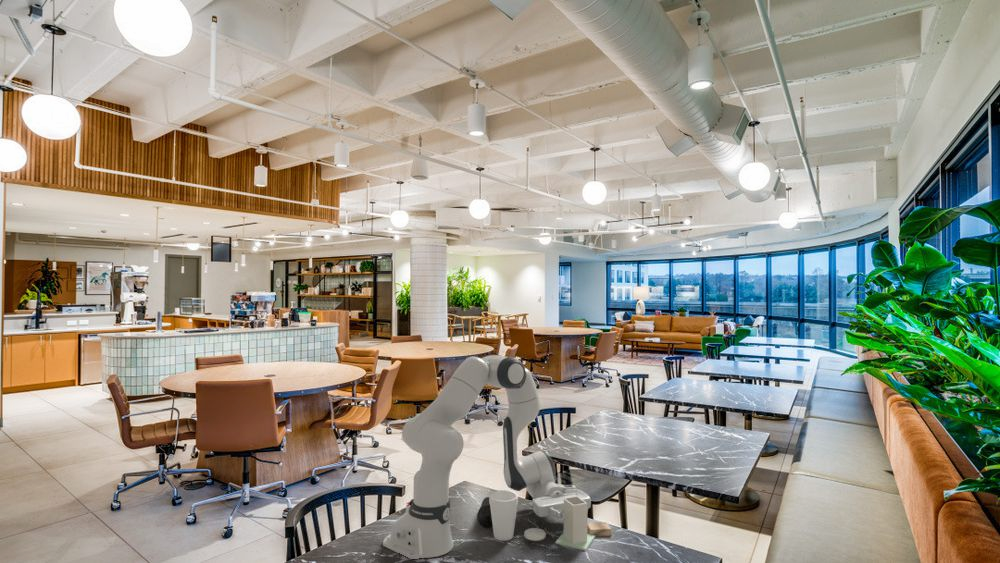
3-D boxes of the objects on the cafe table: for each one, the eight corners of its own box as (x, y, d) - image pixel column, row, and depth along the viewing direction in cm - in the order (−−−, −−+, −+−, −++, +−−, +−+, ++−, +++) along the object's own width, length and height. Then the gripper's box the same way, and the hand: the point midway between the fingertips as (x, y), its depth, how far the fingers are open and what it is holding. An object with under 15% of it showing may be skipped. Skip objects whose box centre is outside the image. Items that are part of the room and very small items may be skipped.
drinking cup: (490, 488, 184) (489, 506, 164) (503, 505, 183) (504, 525, 163) (473, 502, 183) (471, 522, 163) (487, 519, 183) (486, 540, 163)
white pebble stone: (520, 538, 162) (520, 535, 162) (529, 530, 169) (529, 526, 169) (540, 543, 159) (540, 539, 159) (548, 534, 165) (548, 530, 166)
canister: (563, 535, 162) (563, 498, 163) (577, 533, 164) (577, 495, 165) (573, 544, 157) (573, 505, 157) (587, 541, 159) (587, 502, 159)
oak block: (590, 537, 164) (590, 529, 164) (586, 530, 169) (586, 522, 169) (611, 536, 164) (611, 528, 164) (606, 529, 169) (606, 522, 169)
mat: (555, 543, 159) (555, 541, 159) (566, 530, 167) (566, 528, 167) (585, 551, 154) (585, 549, 154) (595, 537, 163) (595, 535, 163)
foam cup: (515, 544, 158) (515, 502, 159) (486, 541, 160) (486, 500, 160) (519, 530, 167) (519, 491, 168) (492, 528, 169) (493, 489, 170)
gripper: (526, 492, 171) (545, 508, 158) (577, 484, 179) (599, 498, 166) (526, 511, 171) (545, 528, 158) (577, 502, 179) (599, 517, 166)
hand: (573, 513), depth 162 cm, fingers open, 8 cm apart
